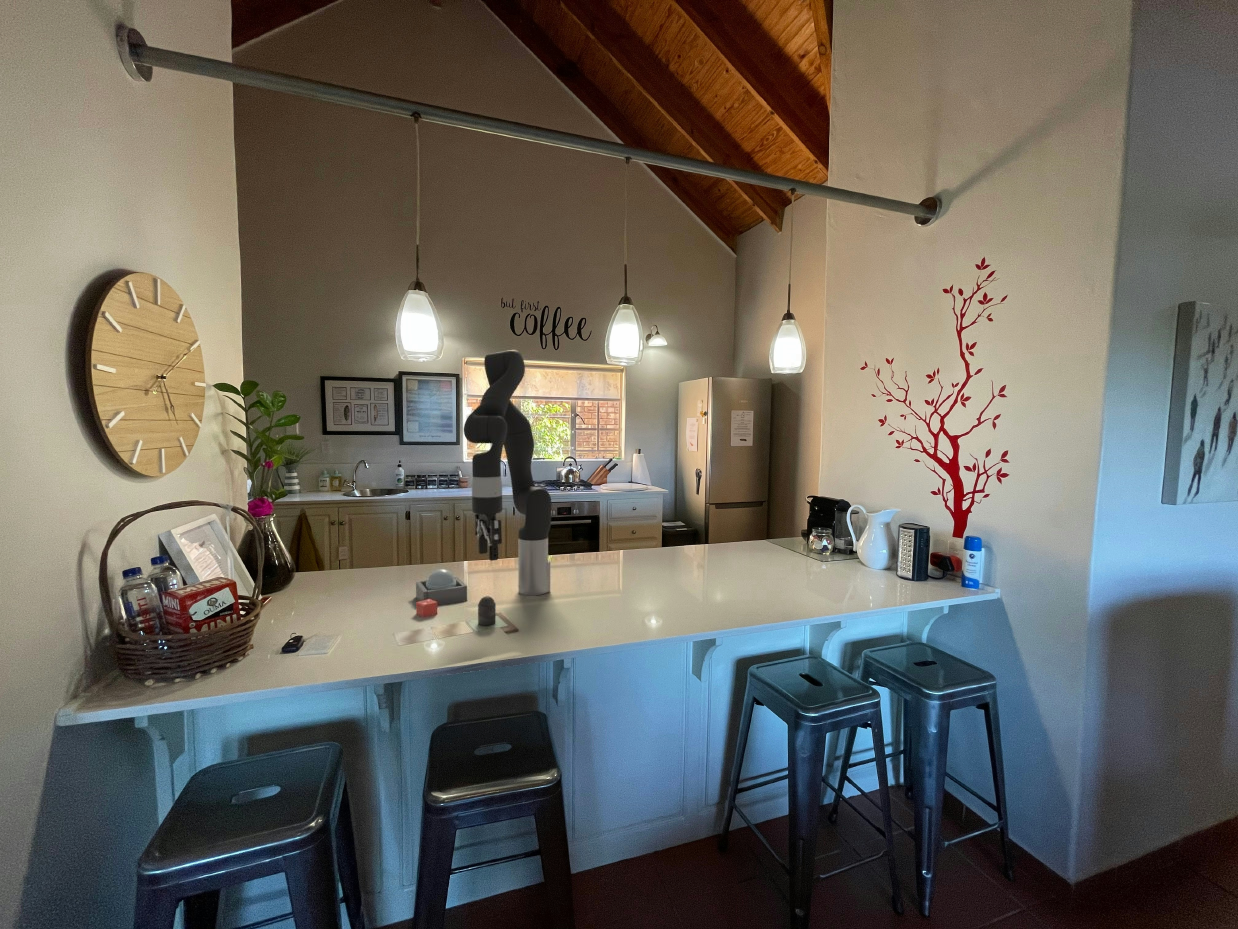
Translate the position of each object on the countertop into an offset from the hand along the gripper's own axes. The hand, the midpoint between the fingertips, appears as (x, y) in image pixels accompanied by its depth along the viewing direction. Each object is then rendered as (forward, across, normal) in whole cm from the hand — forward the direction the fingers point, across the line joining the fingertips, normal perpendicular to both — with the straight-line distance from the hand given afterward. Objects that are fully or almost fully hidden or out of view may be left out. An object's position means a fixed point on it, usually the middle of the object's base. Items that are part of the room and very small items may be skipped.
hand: (488, 556), depth 140 cm
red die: (+18, +15, +12) cm, 27 cm away
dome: (+17, +29, +5) cm, 34 cm away
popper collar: (+18, +29, +5) cm, 35 cm away
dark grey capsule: (+18, 0, +1) cm, 18 cm away
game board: (+18, 0, +10) cm, 21 cm away
